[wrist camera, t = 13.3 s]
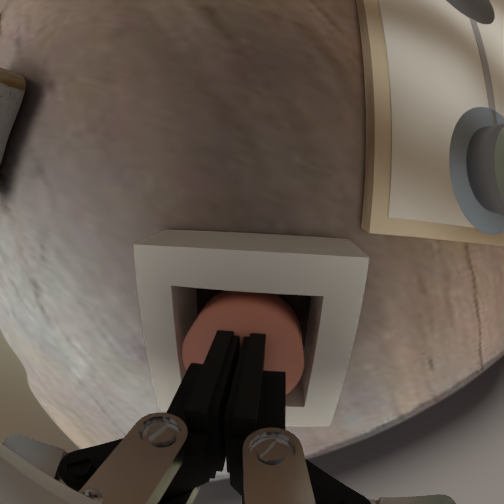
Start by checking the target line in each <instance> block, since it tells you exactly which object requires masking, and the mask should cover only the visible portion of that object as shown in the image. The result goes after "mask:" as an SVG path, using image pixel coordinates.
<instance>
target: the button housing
mask: <svg viewBox="0 0 504 504" xmlns="http://www.w3.org/2000/svg"><path fill="white" fill-rule="evenodd" d="M133 246H134V260H135V272H136V282H137V291H138V300H139V308H140V315H141V322H142V329H143V335H144V341H145V347H146V353H147V358H148V363H149V368H150V373H151V378H152V383H153V387H154V392H155V396H156V400H157V404H158V408H159V410H163V411H167V410H168V408H169V406H170V404H171V402H172V400H173V398H174V396H175V394H176V392H177V390H178V388H179V386H180V384H181V381H182V379H183V377H184V375H185V373H186V369H185V366H184V363H183V358H182V348H183V343H184V340H185V337H186V335H187V333H188V331H189V330H190V328H191V326H192V325H193V323H194V321H195V320H196V318H197V299H196V288H203V289H215V290H227V291H241V292H255V293H271V294H288V295H307V296H311V300H310V309H309V317H308V324H307V332H306V339H305V346H304V370H303V374H302V376H301V378H300V380H299V382H298V384H297V385H296V386H295V387H294V388H293V390H292V391H290V392H289V393H288V394H287V395H286V416H285V426H286V427H330V425H331V422H332V419H333V416H334V413H335V410H336V407H337V403H338V400H339V397H340V394H341V390H342V387H343V383H344V380H345V376H346V372H347V368H348V365H349V361H350V357H351V353H352V348H353V344H354V340H355V336H356V331H357V326H358V322H359V317H360V312H361V307H362V301H363V296H364V290H365V284H366V278H367V271H368V265H369V257H368V256H367V255H366V254H365V253H364V252H363V251H362V250H361V249H360V248H358V247H357V246H356V245H355V244H354V243H353V242H352V241H351V240H350V239H344V238H328V237H313V236H296V235H278V234H260V233H240V232H219V231H195V230H169V229H165V230H163V231H161V232H158V233H156V234H154V235H152V236H150V237H148V238H146V239H144V240H141V241H139V242H137V243H135V244H133Z"/></svg>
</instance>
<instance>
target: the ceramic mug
mask: <svg viewBox="0 0 504 504" xmlns="http://www.w3.org/2000/svg"><path fill="white" fill-rule="evenodd" d="M25 89H26V81H25V79H24V77H23V76H21V75H19V74H16V73H14V72H11V71H9V70H6V69H3V68H0V165H1V161H2V158H3V155H4V151H5V147H6V144H7V140H8V137H9V134H10V132H11V129H12V126H13V124H14V121H15V118H16V116H17V113H18V111H19V108H20V106H21V103H22V99H23V96H24V93H25Z"/></svg>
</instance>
